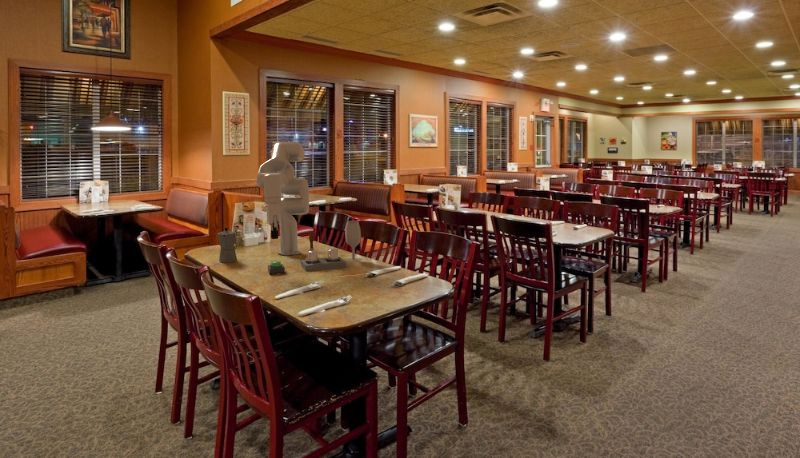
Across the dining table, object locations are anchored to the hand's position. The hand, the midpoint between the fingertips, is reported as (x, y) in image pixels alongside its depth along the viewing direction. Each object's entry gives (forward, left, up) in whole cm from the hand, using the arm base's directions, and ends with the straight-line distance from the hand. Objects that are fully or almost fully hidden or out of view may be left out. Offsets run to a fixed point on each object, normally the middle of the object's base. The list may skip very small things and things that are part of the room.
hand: (274, 238), depth 239 cm
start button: (0, 0, -14) cm, 14 cm away
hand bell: (-18, +21, -17) cm, 33 cm away
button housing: (0, 0, -17) cm, 17 cm away
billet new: (0, +18, -16) cm, 24 cm away
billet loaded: (0, +28, -16) cm, 32 cm away
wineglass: (-8, +41, -17) cm, 45 cm away
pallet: (0, +23, -17) cm, 28 cm away
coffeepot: (-36, -20, -17) cm, 45 cm away
